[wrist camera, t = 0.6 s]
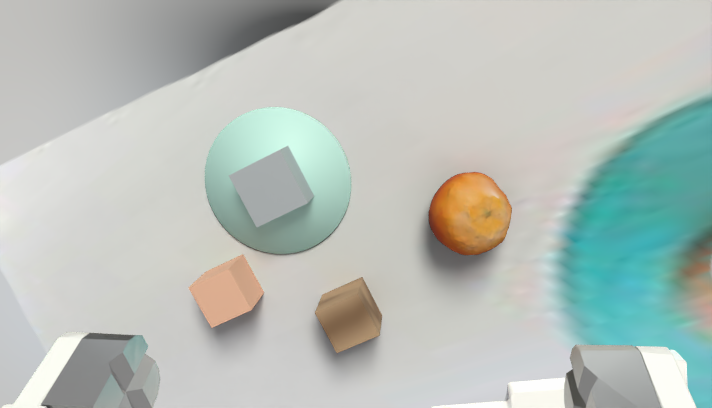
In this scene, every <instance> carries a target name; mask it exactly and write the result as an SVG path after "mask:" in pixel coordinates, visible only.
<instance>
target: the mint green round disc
mask: <svg viewBox="0 0 712 408" xmlns="http://www.w3.org/2000/svg"><path fill="white" fill-rule="evenodd" d="M205 187H206V192H207V197H208V200H209V203H210V206H211V208H212V210H213V212H214V214H215V215H216V217H217V219H218V220H219V222H220V223H221V224H222V225H223V227H224V228H225V229H226V230H227V231H228V232H229V233H230V234H231V235H232V236H233V237H235V238H236V239H237V240H239V241H240V242H242V243H244V244H245V245H247V246H249V247H252V248H254V249H256V250H260V251H263V252H267V253H274V254H289V253H296V252H300V251H303V250H306V249H309V248H311V247H313V246H315V245H317V244H319V243H320V242H321V241H323V240H324V239H325V238H327V237H328V236H329V235H330V234H331V233H332V232H333V231H334V230H335V228H336V227H337V226H338V225H339V223H340V221H341V220H342V218H343V216H344V214H345V212H346V209H347V207H348V203H349V199H350V193H351V174H350V168H349V164H348V161H347V158H346V155H345V153H344V151H343V149H342V147H341V145H340V144H339V142H338V141H337V139H336V138H335V137H334V135H333V134H332V133H331V132H330V131H329V130H328V129H327V128H326V127H325V126H324V125H323V124H321V123H320V122H319V121H317V120H316V119H314V118H312V117H311V116H309V115H307V114H305V113H302V112H300V111H297V110H293V109H289V108H282V107H268V108H261V109H257V110H253V111H250V112H248V113H245V114H243V115H241V116H239V117H238V118H236V119H234V120H233V121H232V122H231V123H229V124H228V125H227V126H226V127H225V128H224V129H223V130H222V131H221V132H220V134H219V135H218V136H217V138H216V139H215V141H214V143H213V145H212V147H211V149H210V151H209V154H208V157H207V162H206V167H205Z"/></svg>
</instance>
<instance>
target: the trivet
mask: <svg viewBox="0 0 712 408" xmlns="http://www.w3.org/2000/svg"><path fill="white" fill-rule="evenodd" d="M670 351H671V352H672V354H673V356H674V359H675V361H676V363H677V365H678V367H679V370H680V372H681V374H682V376H683V379H684V381H685V383H686V385H687V363H686V361H685V360H684V359H683V358H682V357H681V356H680V355H679V354H678V353H677V352H676V351H675V350H670ZM564 383H565V378H557V379H545V380H533V381H520V382H510V383H509V384H508V395H509V399H508V400H507V401H497V402H484V403H471V404H458V405H446V406H433V407H431V408H565V404H564Z"/></svg>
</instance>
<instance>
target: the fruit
mask: <svg viewBox="0 0 712 408" xmlns="http://www.w3.org/2000/svg"><path fill="white" fill-rule="evenodd" d="M511 212H512V208H511V205H510V204H509V202H508V199H507V197H506V195H505V194H504V193H503V192H502V191H501V190H500V189H499V187H498V186H497V185H496V183H495V182H494V181H493V179H491V178H490V177H488V176H486V175H485V174H482V173H478V172H471V173H462V174H458V175H455V176H453V177H451V178H450V179H448V180H447V181H446V182H445V183H444V184H443V185H442V186H441V187H440V188H439V189H438V191H437V192H436V194H435V195H434V197H433V199H432V202H431V205H430V210H429V224H430V227H431V229H432V231H433V233H434V235H435V236H436V238H437V239H438V240H439V241H440V242H441V243H442V244H444V245H445V246H446V247H448V248H449V249H451V250H452V251H454V252H457V253H459V254H462V255H478V254H481V253H483V252H487V251H489V250H491V249H493V248H494V247H496V246H497V245H499V244H500V243H502V242H503V240H504V239H505V236H506V234H507V230H508V228H509V224H510V220H511Z"/></svg>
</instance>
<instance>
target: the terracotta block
mask: <svg viewBox="0 0 712 408" xmlns="http://www.w3.org/2000/svg"><path fill="white" fill-rule="evenodd" d="M189 289H190V291H191V293H192V295H193V296H194V298H195V300H196V302H197V303H198V305H199V307H200V309H201V310H202V312H203V314H204V316H205V317H206V319H207V321H208V322H209V324H210V326H211V328H213V327H215V326H217V325H219V324H222V323H224V322H226V321H228V320H231V319H233V318H235V317H237V316H239V315H242V314H244V313H246V312H248V311H251V310H252V309H253V307H254V306H255V305H256V303H257V302H258V300H259V299H260V298H261V296H262V295H263V293H264V291H263V290H262V288H261V286H260V284H259V282H258V280H257V279H256V277H255V275H254V273H253V271H252V270H251V268H250V266H249V264H248V262H247V260H246V259H245V257H244V255H243V254H242V255H240V256H238V257H236V258H234V259H232V260H230V261H228V262H226V263H223V264H221V265H219V266H217V267H215V268H213V269H211V270H209V271H206V272H205V273H204V274H203V275H202V276H201V277H200V278H198V279H197V280H196V281H195V282H194V283H193V284H192V285H191V286H190V287H189Z"/></svg>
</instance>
